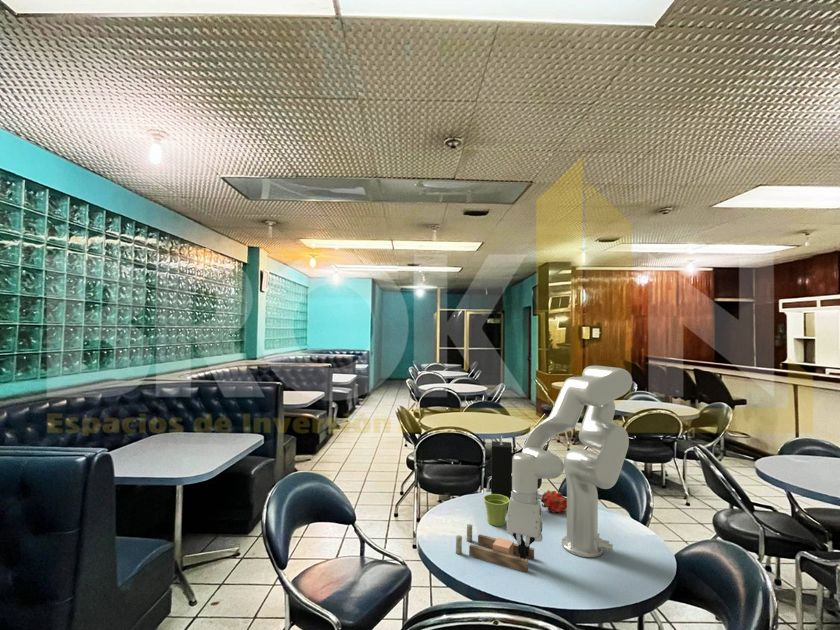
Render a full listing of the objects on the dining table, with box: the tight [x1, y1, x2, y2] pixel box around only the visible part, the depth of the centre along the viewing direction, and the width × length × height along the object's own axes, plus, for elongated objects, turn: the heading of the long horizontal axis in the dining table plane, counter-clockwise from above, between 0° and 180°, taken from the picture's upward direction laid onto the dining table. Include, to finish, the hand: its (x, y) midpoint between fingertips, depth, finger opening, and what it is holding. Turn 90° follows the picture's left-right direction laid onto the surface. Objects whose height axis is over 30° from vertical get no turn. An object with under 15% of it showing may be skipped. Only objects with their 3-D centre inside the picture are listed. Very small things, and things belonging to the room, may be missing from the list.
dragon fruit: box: [539, 490, 567, 514], centre depth 166 cm, size 8×8×12 cm
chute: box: [455, 524, 535, 573], centre depth 132 cm, size 22×11×5 cm, turn 62°
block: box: [492, 537, 514, 556], centre depth 131 cm, size 5×5×4 cm
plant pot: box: [483, 493, 509, 527], centre depth 155 cm, size 9×9×9 cm
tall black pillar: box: [490, 435, 513, 512], centre depth 170 cm, size 8×8×28 cm
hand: (523, 556), depth 128 cm, fingers closed
